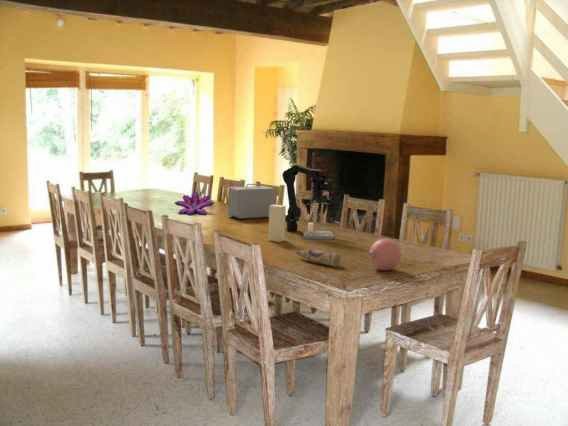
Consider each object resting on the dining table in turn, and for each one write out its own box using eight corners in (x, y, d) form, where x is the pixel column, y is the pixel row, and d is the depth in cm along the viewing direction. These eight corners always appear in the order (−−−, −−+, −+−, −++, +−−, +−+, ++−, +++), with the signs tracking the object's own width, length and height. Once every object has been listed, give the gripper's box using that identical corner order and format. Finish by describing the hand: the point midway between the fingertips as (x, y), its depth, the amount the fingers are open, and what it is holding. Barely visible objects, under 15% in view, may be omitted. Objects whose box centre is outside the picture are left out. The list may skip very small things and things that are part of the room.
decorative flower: (213, 222, 437) (212, 211, 432) (172, 224, 438) (170, 213, 432) (217, 200, 463) (215, 189, 457) (178, 202, 463) (176, 191, 458)
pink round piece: (354, 269, 287) (356, 238, 284) (384, 264, 298) (386, 235, 295) (376, 276, 274) (378, 244, 272) (406, 271, 285) (408, 240, 283)
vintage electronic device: (264, 214, 450) (265, 181, 446) (276, 217, 435) (277, 184, 431) (226, 216, 434) (227, 182, 430) (237, 220, 419) (238, 185, 415)
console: (304, 238, 359) (304, 233, 359) (303, 233, 375) (303, 229, 375) (333, 239, 360) (333, 234, 359) (331, 234, 375) (331, 230, 375)
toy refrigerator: (285, 239, 354) (286, 205, 350) (280, 242, 347) (281, 206, 344) (273, 238, 357) (274, 204, 354) (268, 240, 350) (268, 205, 347)
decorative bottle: (341, 265, 294) (342, 252, 292) (332, 268, 288) (333, 255, 287) (301, 256, 310) (302, 244, 309) (292, 259, 305) (292, 246, 304)
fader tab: (307, 233, 364) (307, 223, 363) (306, 232, 369) (307, 222, 368) (313, 233, 364) (314, 224, 364) (313, 232, 369) (313, 222, 368)
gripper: (307, 191, 357) (306, 216, 359) (336, 191, 362) (334, 216, 364) (301, 189, 367) (300, 214, 370) (329, 189, 372) (328, 213, 375)
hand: (316, 214), depth 369 cm, fingers open, 9 cm apart
